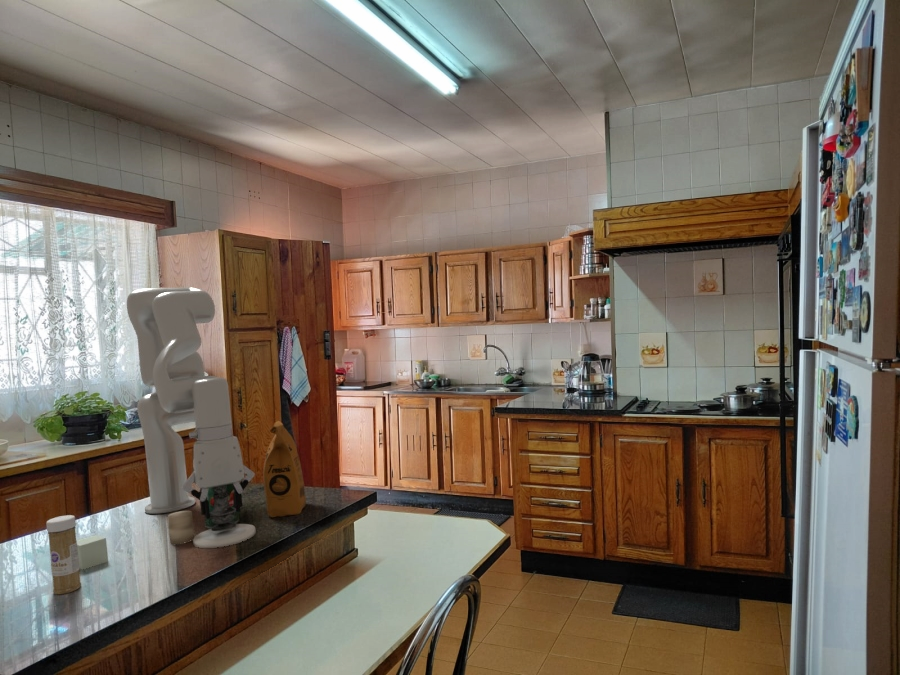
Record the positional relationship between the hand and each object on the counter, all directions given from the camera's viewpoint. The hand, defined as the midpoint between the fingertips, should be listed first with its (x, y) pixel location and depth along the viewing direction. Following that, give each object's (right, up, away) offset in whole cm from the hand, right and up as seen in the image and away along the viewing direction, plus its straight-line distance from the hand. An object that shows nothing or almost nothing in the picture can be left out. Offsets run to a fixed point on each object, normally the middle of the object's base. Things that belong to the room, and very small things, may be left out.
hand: (222, 513), depth 141 cm
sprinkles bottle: (-20, -8, -23) cm, 32 cm away
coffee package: (+9, -5, +18) cm, 21 cm away
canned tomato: (-4, -6, +12) cm, 14 cm away
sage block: (-24, -8, -9) cm, 27 cm away
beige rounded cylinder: (-9, -6, +1) cm, 11 cm away
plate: (+1, -5, 0) cm, 5 cm away
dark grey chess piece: (0, -3, 0) cm, 3 cm away
